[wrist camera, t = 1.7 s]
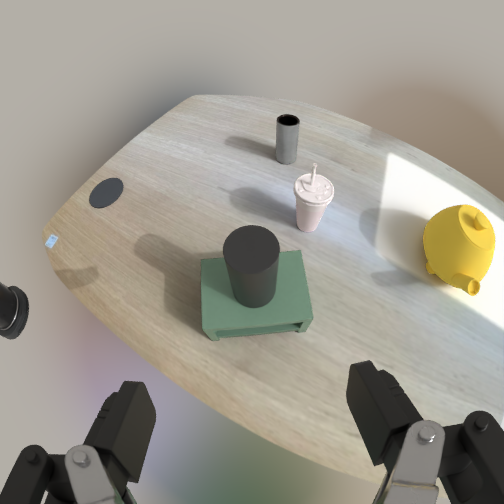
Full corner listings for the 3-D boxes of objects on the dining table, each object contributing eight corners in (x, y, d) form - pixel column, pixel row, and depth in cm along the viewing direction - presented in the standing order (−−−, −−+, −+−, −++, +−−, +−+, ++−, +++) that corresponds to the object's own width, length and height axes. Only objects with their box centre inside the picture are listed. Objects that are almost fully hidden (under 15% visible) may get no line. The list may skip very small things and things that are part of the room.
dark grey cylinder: (240, 314, 34) (233, 281, 26) (227, 276, 37) (216, 234, 28) (282, 299, 35) (288, 262, 26) (266, 263, 38) (267, 218, 29)
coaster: (89, 213, 53) (88, 212, 53) (91, 187, 58) (90, 186, 57) (124, 199, 55) (123, 198, 54) (123, 174, 59) (122, 172, 59)
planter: (274, 152, 60) (274, 114, 51) (293, 150, 60) (296, 113, 51) (277, 165, 57) (279, 126, 49) (298, 163, 58) (302, 125, 49)
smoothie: (301, 204, 52) (309, 147, 40) (330, 221, 50) (347, 164, 37) (282, 227, 49) (287, 168, 37) (313, 245, 47) (328, 189, 35)
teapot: (468, 328, 37) (516, 300, 25) (404, 300, 41) (446, 261, 29) (473, 245, 46) (507, 207, 34) (418, 216, 50) (446, 170, 38)
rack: (211, 340, 39) (201, 329, 33) (209, 280, 44) (200, 259, 38) (305, 331, 40) (313, 318, 34) (295, 272, 45) (300, 249, 39)
